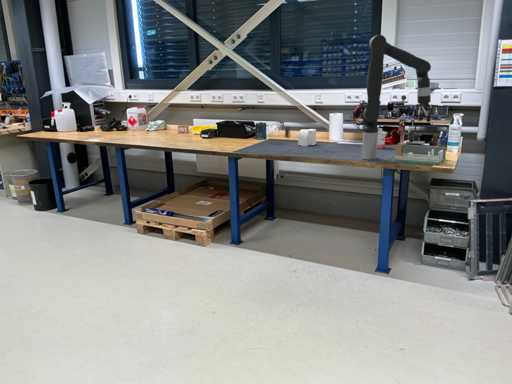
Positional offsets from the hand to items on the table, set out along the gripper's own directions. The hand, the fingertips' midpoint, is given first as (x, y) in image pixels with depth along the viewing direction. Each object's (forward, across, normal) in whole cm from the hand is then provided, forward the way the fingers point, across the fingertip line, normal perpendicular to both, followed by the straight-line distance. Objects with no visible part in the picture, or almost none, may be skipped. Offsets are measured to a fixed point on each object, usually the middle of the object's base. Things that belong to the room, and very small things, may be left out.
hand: (424, 121), depth 256 cm
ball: (+19, +6, -14) cm, 24 cm away
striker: (+20, +1, -12) cm, 23 cm away
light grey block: (+17, -77, -53) cm, 95 cm away
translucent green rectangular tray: (+23, +7, -8) cm, 25 cm away
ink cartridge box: (+21, -44, -10) cm, 50 cm away
